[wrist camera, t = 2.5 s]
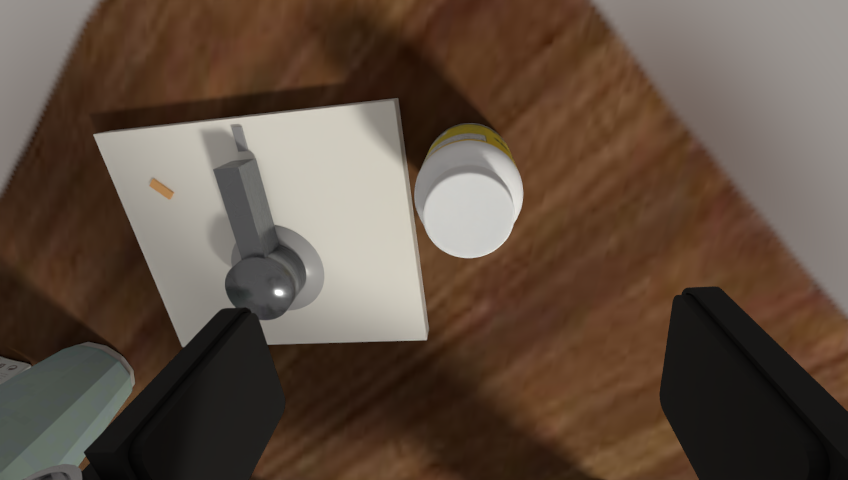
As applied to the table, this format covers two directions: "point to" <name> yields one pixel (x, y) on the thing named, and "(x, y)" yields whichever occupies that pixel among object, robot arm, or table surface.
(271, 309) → the grey lever handle
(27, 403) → the disposable coffee cup
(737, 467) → the robot arm
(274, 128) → the dial plate
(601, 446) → the table surface
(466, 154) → the supplement bottle
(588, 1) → the table surface
